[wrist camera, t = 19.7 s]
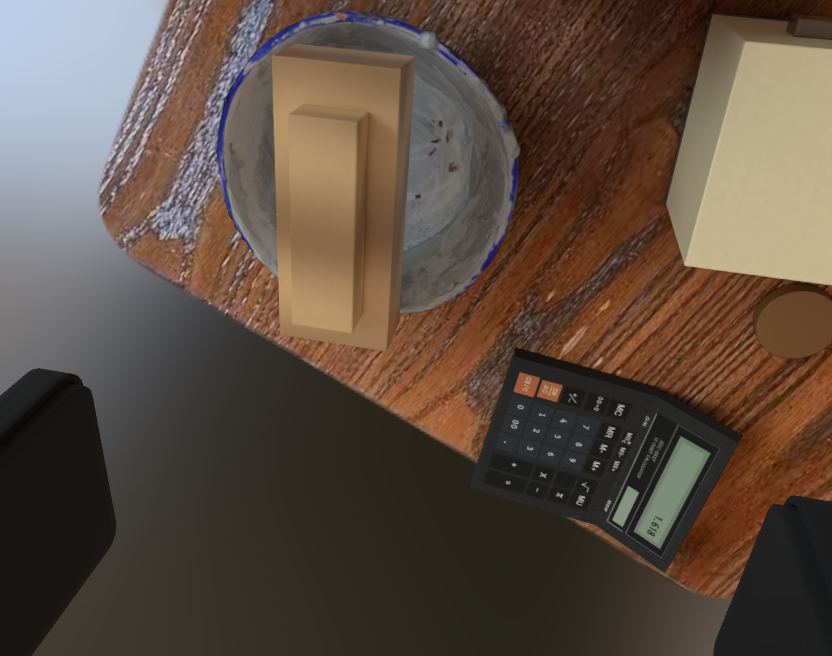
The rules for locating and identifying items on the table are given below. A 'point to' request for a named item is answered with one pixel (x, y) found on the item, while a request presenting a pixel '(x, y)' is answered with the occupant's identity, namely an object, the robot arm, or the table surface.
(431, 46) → the bowl
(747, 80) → the bread box
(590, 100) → the table surface
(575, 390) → the calculator
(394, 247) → the brush
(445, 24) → the table surface
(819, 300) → the brown disc
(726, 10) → the table surface
